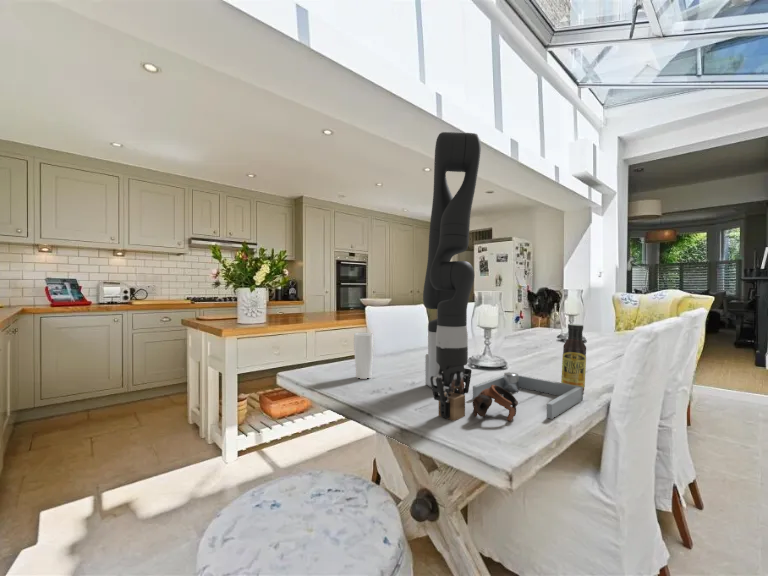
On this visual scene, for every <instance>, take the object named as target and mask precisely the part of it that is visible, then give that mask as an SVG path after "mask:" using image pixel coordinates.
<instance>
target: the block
mask: <svg viewBox="0 0 768 576" xmlns="http://www.w3.org/2000/svg"><path fill="white" fill-rule="evenodd" d="M444 394H445V397H446V392H444ZM440 411H441V410H440V401H438V416H439V417H440V418H441V417H442V416H441V413H440ZM463 417H466V395H465V394H464V395H462V394H458V393H454V392H453V393H451V397H450V418H446V419H447V420H451V421H453V422H455V421H457V420H459V419H461V418H463ZM442 418H443V417H442Z"/></svg>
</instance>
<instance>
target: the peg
mask: <svg viewBox="0 0 768 576" xmlns="http://www.w3.org/2000/svg"><path fill="white" fill-rule="evenodd" d="M503 375H504V389H505V390H506V391H508V392H509V393H510V392H517V393H518V392H519V387H518V375H519V374H518V373H516V372H504V374H503Z"/></svg>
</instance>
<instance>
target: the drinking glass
mask: <svg viewBox="0 0 768 576" xmlns="http://www.w3.org/2000/svg"><path fill="white" fill-rule="evenodd" d="M374 339H375V338H374V333H373V332H356V333H354V334H353V351H354V363H355V378H356V379H358V378H360V379H359V380H368V379H367V378H369V379H371V378H372V376H373V375H372V374H373V359H374V358H373V357H374V347H375V345H374V344H375V343H374V342H375V340H374Z"/></svg>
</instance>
